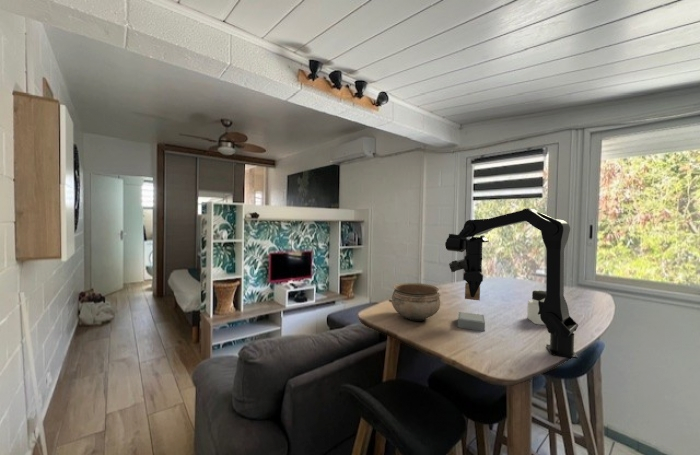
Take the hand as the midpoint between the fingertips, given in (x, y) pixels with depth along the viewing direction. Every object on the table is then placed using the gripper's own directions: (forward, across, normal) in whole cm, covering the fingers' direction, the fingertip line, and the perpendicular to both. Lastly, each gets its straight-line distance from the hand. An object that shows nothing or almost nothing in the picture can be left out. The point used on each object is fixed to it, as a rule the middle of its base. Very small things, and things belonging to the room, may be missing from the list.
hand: (472, 295), depth 108 cm
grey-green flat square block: (+11, 0, 0) cm, 11 cm away
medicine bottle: (+11, -15, +25) cm, 31 cm away
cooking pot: (+12, +1, -21) cm, 24 cm away
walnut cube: (+1, 0, 0) cm, 1 cm away
